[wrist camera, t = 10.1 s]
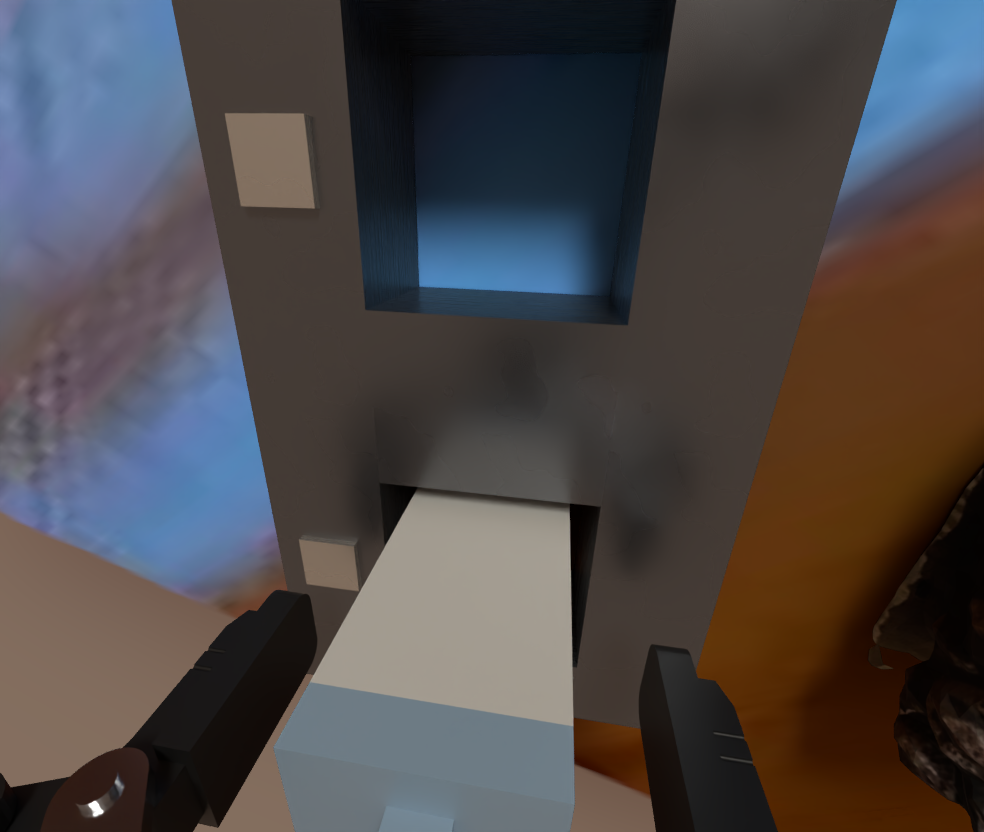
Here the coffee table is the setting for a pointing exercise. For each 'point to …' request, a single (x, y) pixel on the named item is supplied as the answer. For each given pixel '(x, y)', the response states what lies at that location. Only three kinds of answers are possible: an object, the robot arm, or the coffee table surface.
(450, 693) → the plug
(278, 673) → the robot arm
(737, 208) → the panel
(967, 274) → the coffee table surface
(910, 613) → the pine cone
